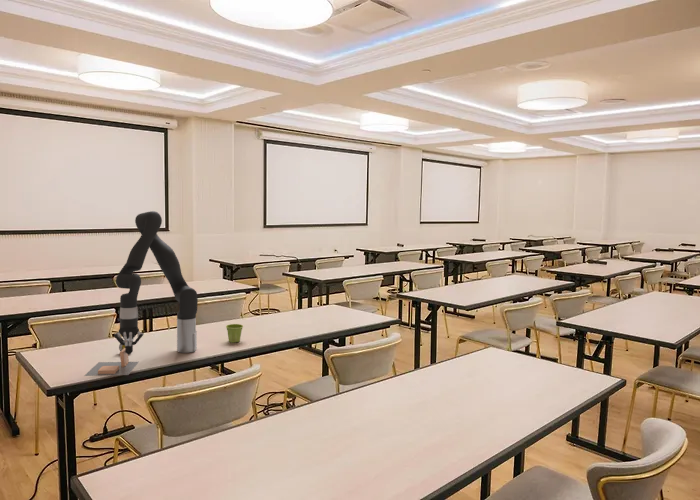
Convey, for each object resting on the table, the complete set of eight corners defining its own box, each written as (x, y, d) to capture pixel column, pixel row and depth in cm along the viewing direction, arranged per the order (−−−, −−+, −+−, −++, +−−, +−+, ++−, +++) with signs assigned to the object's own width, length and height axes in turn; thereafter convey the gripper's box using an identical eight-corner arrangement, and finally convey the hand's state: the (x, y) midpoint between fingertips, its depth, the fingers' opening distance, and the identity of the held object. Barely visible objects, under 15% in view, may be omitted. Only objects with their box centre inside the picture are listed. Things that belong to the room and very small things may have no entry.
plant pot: (245, 339, 282) (245, 324, 281) (240, 344, 273) (240, 328, 272) (229, 338, 283) (229, 323, 282) (223, 343, 274) (223, 327, 273)
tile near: (119, 365, 225) (102, 366, 224) (114, 370, 219) (97, 370, 218) (119, 369, 225) (102, 369, 224) (115, 373, 219) (97, 374, 218)
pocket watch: (114, 361, 239) (114, 340, 238) (113, 355, 247) (113, 336, 246) (133, 359, 243) (133, 338, 242) (131, 354, 251) (131, 334, 250)
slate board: (139, 364, 236) (139, 361, 236) (128, 377, 218) (128, 374, 218) (98, 364, 233) (98, 362, 233) (84, 378, 216) (84, 375, 216)
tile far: (128, 362, 234) (127, 347, 233) (125, 366, 228) (123, 351, 227) (125, 362, 234) (123, 348, 233) (121, 367, 228) (119, 352, 227)
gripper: (146, 314, 233) (146, 350, 235) (115, 314, 231) (116, 351, 233) (142, 318, 226) (142, 355, 228) (110, 318, 224) (111, 356, 226)
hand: (129, 353), depth 230 cm, fingers closed
